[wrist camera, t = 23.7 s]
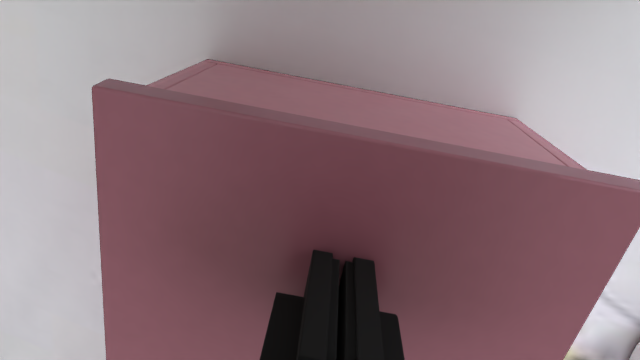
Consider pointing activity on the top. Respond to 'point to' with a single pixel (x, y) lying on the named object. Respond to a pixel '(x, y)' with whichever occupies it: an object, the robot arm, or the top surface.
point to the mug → (636, 353)
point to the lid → (338, 230)
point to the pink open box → (364, 109)
